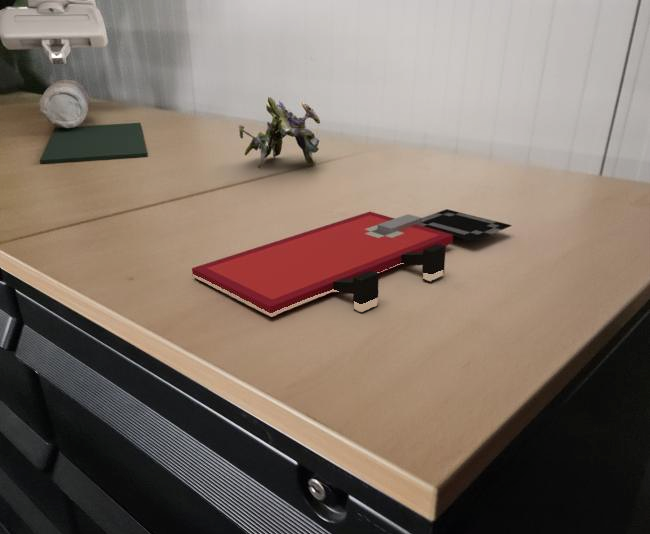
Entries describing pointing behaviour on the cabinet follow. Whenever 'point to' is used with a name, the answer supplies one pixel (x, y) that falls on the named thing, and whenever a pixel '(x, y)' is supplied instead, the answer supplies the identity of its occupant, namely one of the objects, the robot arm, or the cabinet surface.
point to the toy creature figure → (284, 132)
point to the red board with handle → (342, 257)
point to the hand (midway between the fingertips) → (58, 62)
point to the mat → (95, 143)
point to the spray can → (65, 103)
